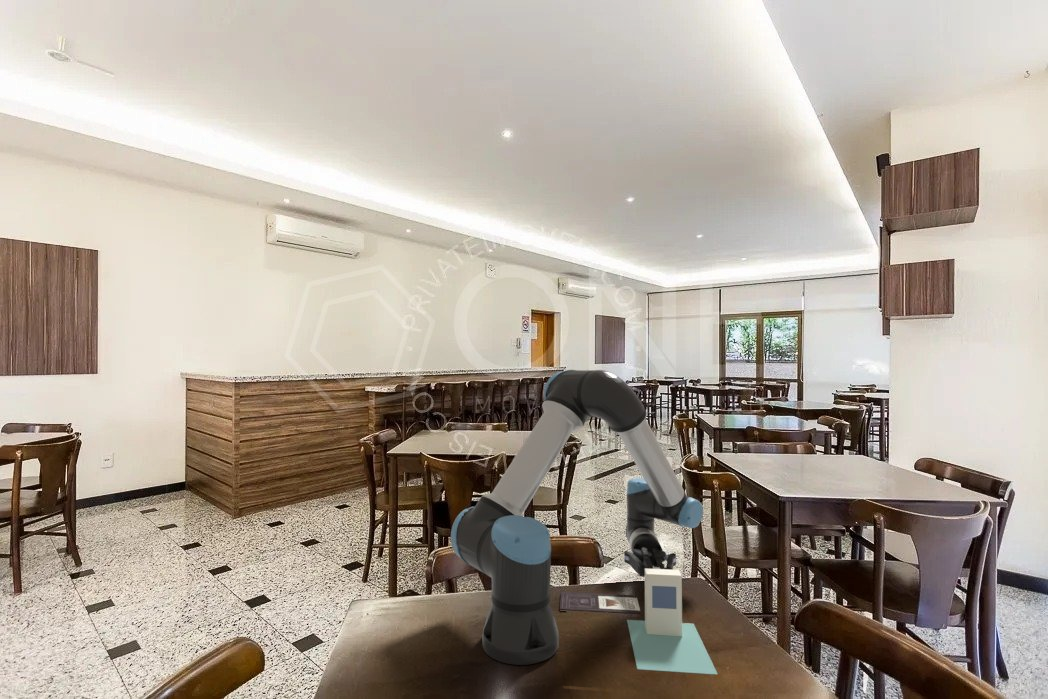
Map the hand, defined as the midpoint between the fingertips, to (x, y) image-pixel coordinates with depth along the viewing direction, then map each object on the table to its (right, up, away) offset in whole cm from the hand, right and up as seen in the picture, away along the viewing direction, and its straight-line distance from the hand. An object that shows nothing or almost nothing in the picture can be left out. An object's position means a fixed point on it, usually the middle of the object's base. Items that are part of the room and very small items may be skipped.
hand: (661, 585), depth 107 cm
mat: (-2, -7, -10) cm, 12 cm away
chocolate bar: (-12, -9, +8) cm, 17 cm away
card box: (-1, -7, -5) cm, 9 cm away
